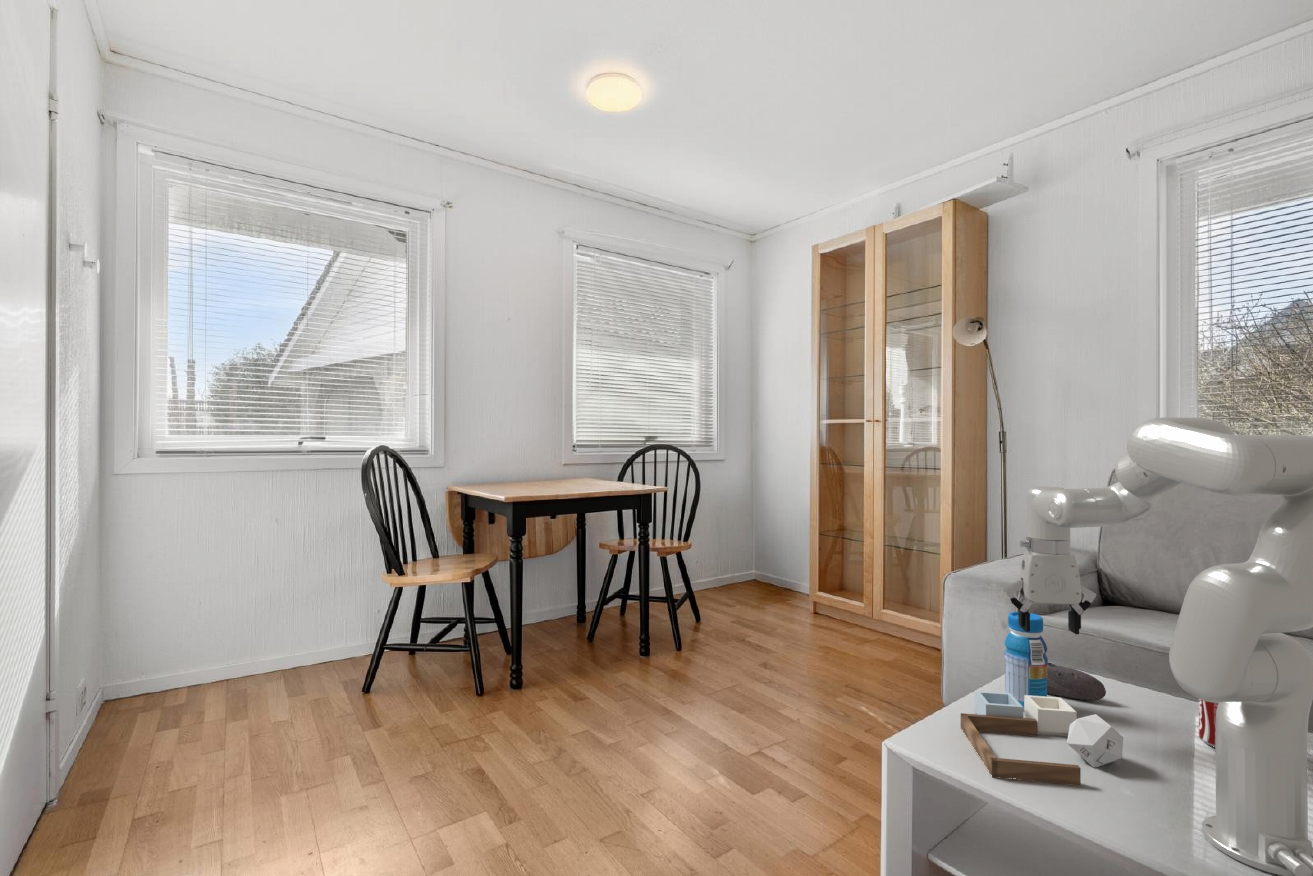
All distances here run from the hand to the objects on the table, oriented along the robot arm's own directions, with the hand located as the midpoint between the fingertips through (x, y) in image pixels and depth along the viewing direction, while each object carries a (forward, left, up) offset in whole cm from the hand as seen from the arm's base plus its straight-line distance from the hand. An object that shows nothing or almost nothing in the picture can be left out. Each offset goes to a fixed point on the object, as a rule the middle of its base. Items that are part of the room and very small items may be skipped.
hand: (1049, 631), depth 127 cm
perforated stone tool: (+18, -10, -20) cm, 29 cm away
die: (-13, -2, -20) cm, 24 cm away
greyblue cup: (+1, +10, -20) cm, 22 cm away
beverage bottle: (+11, +1, -20) cm, 23 cm away
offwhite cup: (0, 0, -20) cm, 20 cm away
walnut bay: (-13, +11, -20) cm, 26 cm away
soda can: (-2, -29, -20) cm, 36 cm away
